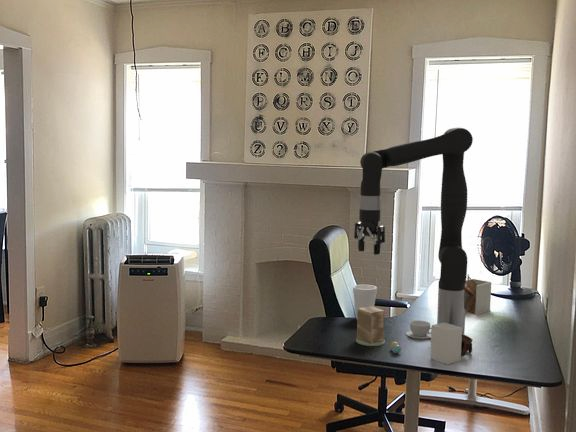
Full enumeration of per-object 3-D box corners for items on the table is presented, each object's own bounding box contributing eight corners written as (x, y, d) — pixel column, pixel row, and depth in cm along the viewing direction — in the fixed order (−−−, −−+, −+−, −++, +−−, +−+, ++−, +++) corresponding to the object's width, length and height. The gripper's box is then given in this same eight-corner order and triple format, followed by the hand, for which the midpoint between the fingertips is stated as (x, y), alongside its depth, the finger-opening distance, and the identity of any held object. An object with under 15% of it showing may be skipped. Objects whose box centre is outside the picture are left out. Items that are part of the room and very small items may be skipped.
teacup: (400, 336, 228) (401, 323, 227) (414, 330, 235) (414, 318, 235) (425, 341, 221) (426, 328, 221) (438, 335, 229) (439, 323, 228)
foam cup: (375, 323, 243) (376, 290, 242) (351, 321, 245) (352, 289, 244) (376, 316, 253) (377, 285, 251) (353, 315, 254) (354, 284, 253)
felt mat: (372, 335, 227) (372, 334, 227) (390, 343, 218) (390, 341, 218) (350, 340, 221) (350, 338, 221) (368, 347, 213) (368, 346, 213)
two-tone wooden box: (457, 311, 265) (459, 272, 263) (471, 307, 272) (473, 269, 270) (475, 315, 258) (477, 276, 256) (490, 311, 265) (491, 272, 264)
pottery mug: (435, 352, 210) (443, 329, 213) (458, 363, 212) (466, 340, 214) (454, 354, 199) (462, 330, 201) (478, 366, 201) (486, 342, 203)
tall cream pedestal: (443, 354, 207) (444, 322, 205) (460, 361, 201) (462, 327, 199) (430, 358, 203) (431, 325, 202) (447, 364, 197) (448, 330, 196)
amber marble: (395, 348, 213) (395, 339, 212) (401, 350, 210) (401, 342, 210) (388, 349, 211) (388, 341, 211) (394, 352, 208) (394, 343, 208)
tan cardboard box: (370, 336, 224) (371, 306, 223) (383, 341, 218) (384, 310, 217) (356, 338, 221) (357, 308, 220) (369, 344, 215) (370, 312, 214)
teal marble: (396, 351, 209) (397, 342, 209) (402, 354, 207) (403, 345, 206) (389, 353, 208) (390, 344, 207) (396, 355, 205) (396, 346, 205)
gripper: (391, 209, 220) (389, 254, 222) (365, 206, 232) (364, 249, 234) (374, 210, 216) (373, 256, 218) (349, 206, 228) (348, 250, 230)
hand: (368, 252), depth 226 cm, fingers open, 8 cm apart
